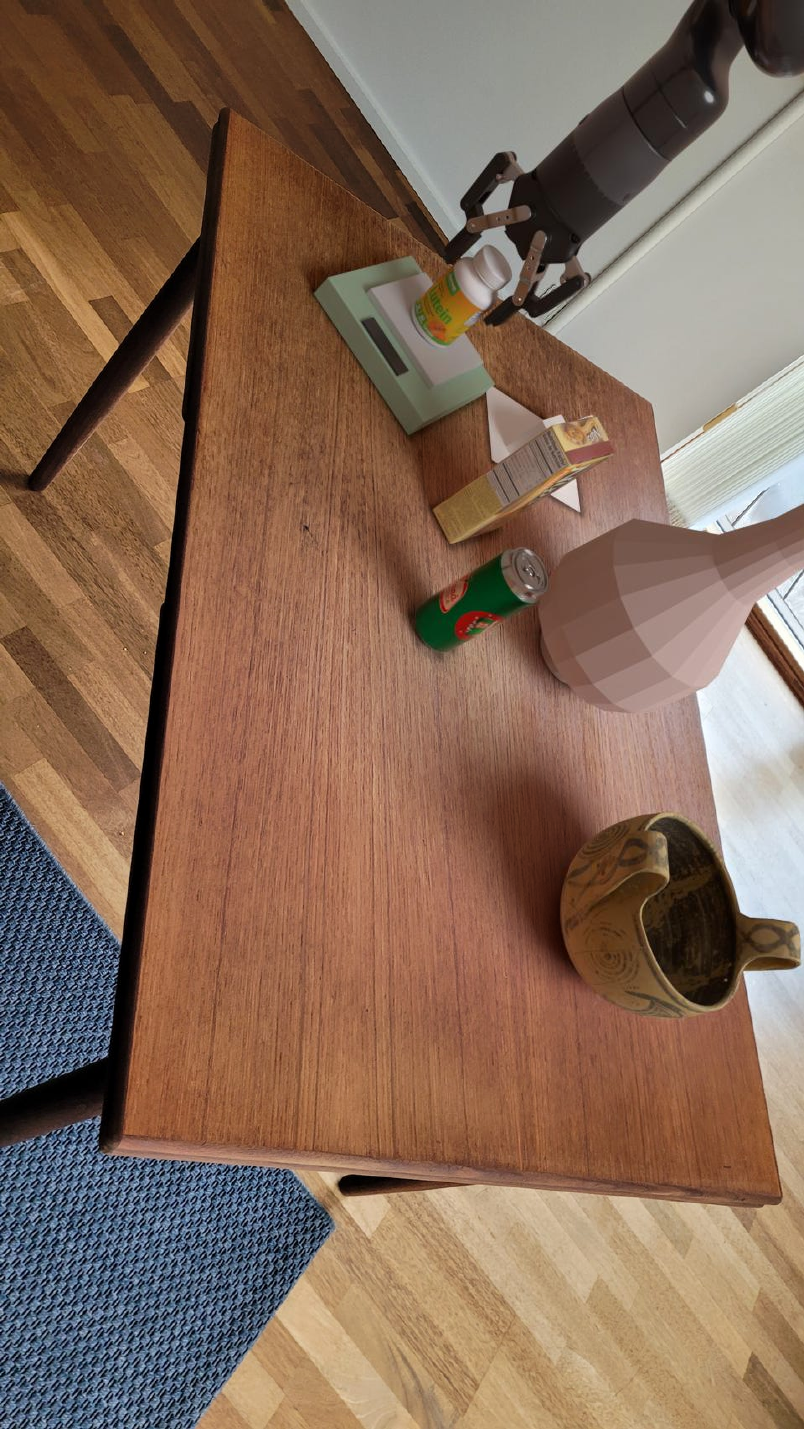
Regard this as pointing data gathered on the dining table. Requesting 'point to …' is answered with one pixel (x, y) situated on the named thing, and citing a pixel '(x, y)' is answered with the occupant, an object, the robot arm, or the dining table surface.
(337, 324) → the scale
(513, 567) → the soda can
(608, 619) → the vase
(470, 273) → the supplement bottle
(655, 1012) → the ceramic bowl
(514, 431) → the napkin holder
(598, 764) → the dining table surface
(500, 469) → the candy box
